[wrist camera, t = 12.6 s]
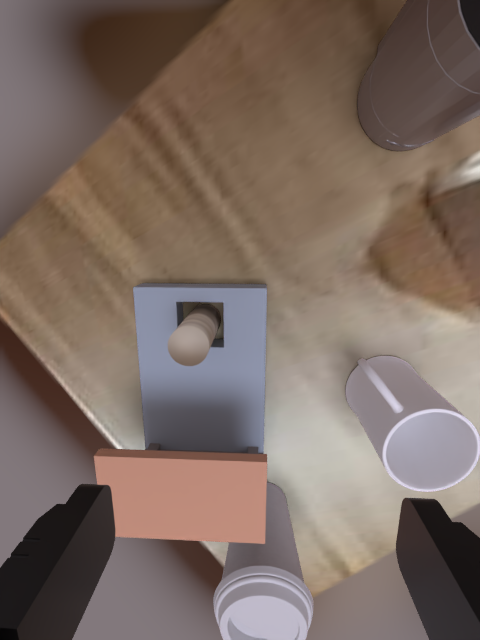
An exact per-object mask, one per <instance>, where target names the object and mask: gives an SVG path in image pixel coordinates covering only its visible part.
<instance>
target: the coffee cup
mask: <svg viewBox="0 0 480 640" xmlns="http://www.w3.org/2000/svg"><path fill="white" fill-rule="evenodd" d="M213 602H214V603H213V604H214V612H215V616H216V620H217V623H218V625H219V627H220V632H221V635H222V637H223V639H224V640H305V639H306V636H307V631H308V629H309V627H310V624H311V620H312V614H313V599H312V595H311V593H310V591H309V589H308V588H307V586H306V585H305V584H304V580H303V575H302V571H301V566H300V562H299V557H298V552H297V548H296V543H295V538H294V534H293V529H292V524H291V520H290V515H289V510H288V506H287V501H286V497H285V494H284V493H283V491H282V490H281V489H280V488H279V487H278V486H276V485H274V484H272V483H270V482H267V489H266V530H265V544H258V543H237V542H229V546H228V551H227V556H226V561H225V567H224V572H223V577H222V581H221V582H220V584H219V585H218V587H217V589H216V591H215V594H214V599H213Z"/></svg>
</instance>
